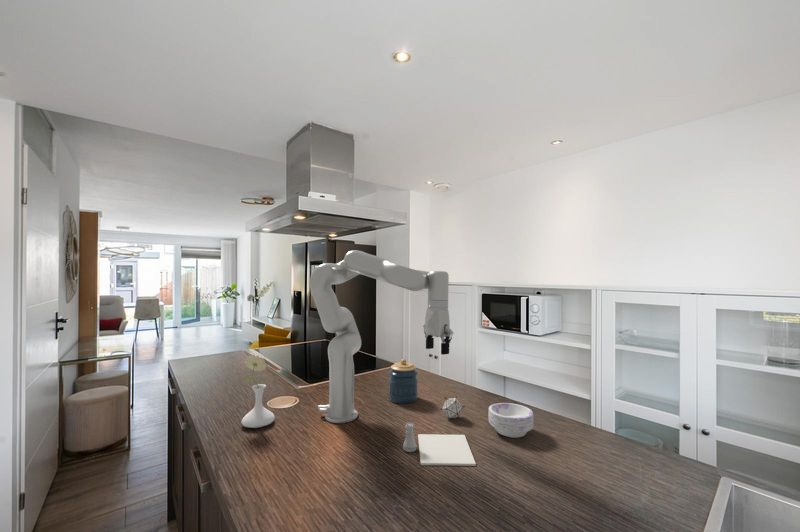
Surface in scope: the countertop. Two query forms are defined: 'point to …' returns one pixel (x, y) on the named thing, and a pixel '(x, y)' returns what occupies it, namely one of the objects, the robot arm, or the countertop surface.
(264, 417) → the flower in vase
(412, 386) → the canister
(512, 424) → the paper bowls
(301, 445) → the countertop surface
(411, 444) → the rook chess piece
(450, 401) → the game die
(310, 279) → the robot arm
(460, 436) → the mat
